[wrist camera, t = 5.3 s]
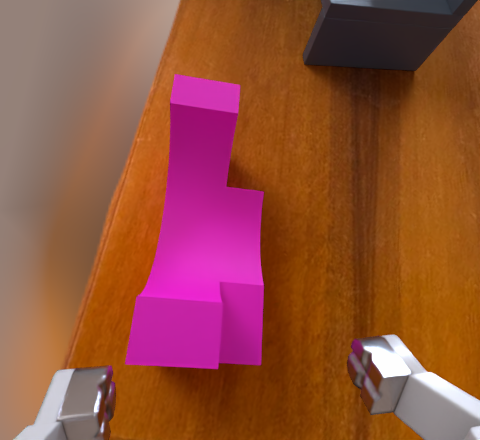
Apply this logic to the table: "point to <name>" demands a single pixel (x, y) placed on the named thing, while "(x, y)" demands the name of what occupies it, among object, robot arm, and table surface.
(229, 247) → the toy block
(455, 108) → the table surface
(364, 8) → the shelf
